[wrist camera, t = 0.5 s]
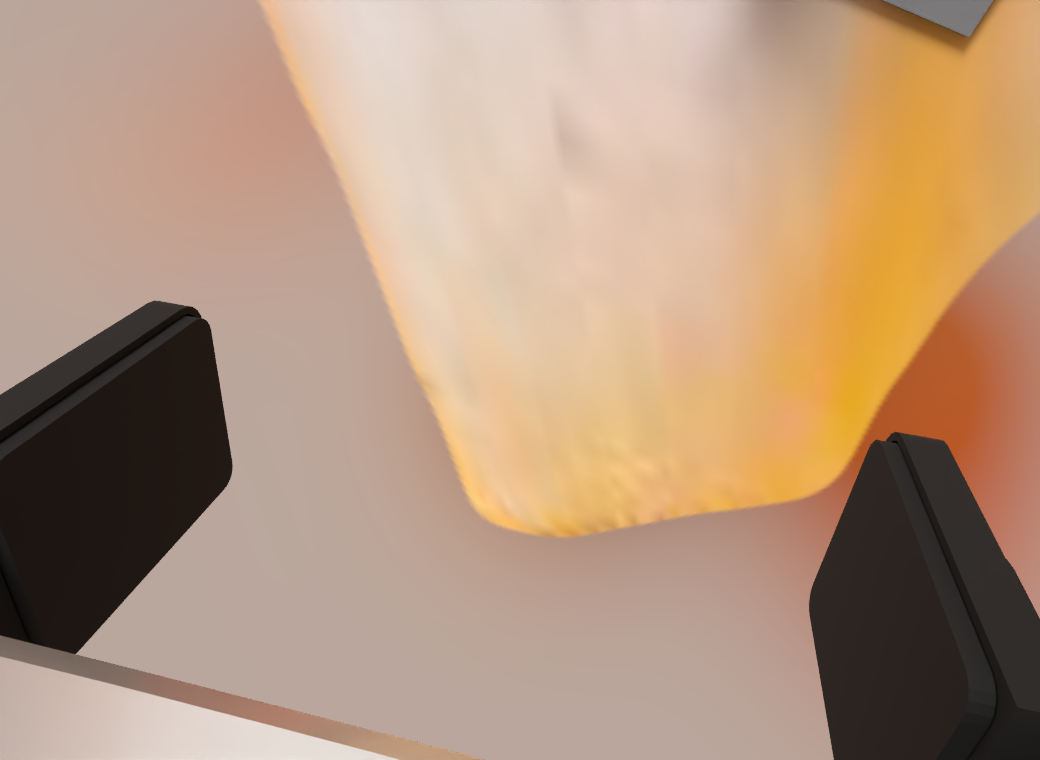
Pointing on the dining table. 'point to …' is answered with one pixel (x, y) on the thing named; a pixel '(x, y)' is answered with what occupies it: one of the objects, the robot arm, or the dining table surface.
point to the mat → (948, 12)
